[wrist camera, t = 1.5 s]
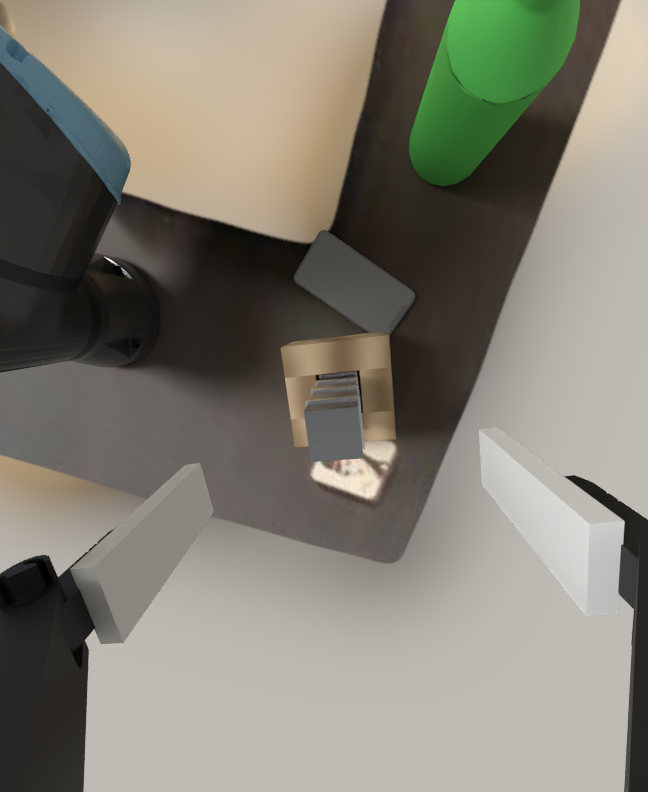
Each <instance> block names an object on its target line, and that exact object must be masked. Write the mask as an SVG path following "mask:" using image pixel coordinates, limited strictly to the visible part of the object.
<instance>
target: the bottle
mask: <svg viewBox="0 0 648 792" xmlns="http://www.w3.org/2000/svg"><path fill="white" fill-rule="evenodd" d="M579 12H580V0H455V3H454V5H453V8H452V11H451V13H450V16H449V18H448V21H447V24H446V27H445V30H444V33H443V37H442V40H441V43H440V46H439V49H438V52H437V55H436V58H435V61H434V64H433V67H432V70H431V73H430V76H429V79H428V82H427V85H426V88H425V91H424V94H423V98H422V101H421V104H420V107H419V110H418V113H417V116H416V119H415V122H414V126H413V129H412V132H411V135H410V144H409V154H410V158H411V162H412V166H413V167H414V169H415V170H416V172H417V173H418V174H419V176H420V177H421V178H423V179H424V180H426V181H427V182H429V183H430V184H434V185H439V186H447V185H452V184H457V183H459V182H460V181H462V180H464V179H465V178H467V177H468V176H470V175H471V173H472V172H473V171H474V170H475V169H476V168H477V166H478V165H479V164H480V163H481V162H482V161H483V159H484V158H485V157H486V156H487V155H488V154H489V152H490V151H491V150H492V149H493V148H494V147H495V145H496V144H497V143H498V142H499V141H500V139H501V138H502V137H503V136H504V135H505V134H506V132H507V131H508V130H509V129H510V128H511V127H512V125H513V124H514V123H515V122H516V121H517V119H518V118H519V117H520V116H521V115H522V113H523V112H524V111H525V110H526V109H527V108H528V106H529V105H530V104H531V103H532V102H533V100H534V99H535V98H536V97H537V96H538V94H539V93H540V92H541V91H542V90H543V89H544V87H545V86H546V85H547V84H548V83H549V81H550V80H551V79H552V78H553V77H554V75H555V74H556V73H557V72H558V71H559V70H560V68H561V67H562V66H563V64H564V61H565V59H566V57H567V55H568V53H569V51H570V49H571V46H572V44H573V42H574V40H575V36H576V30H577V24H578V18H579Z"/></svg>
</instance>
